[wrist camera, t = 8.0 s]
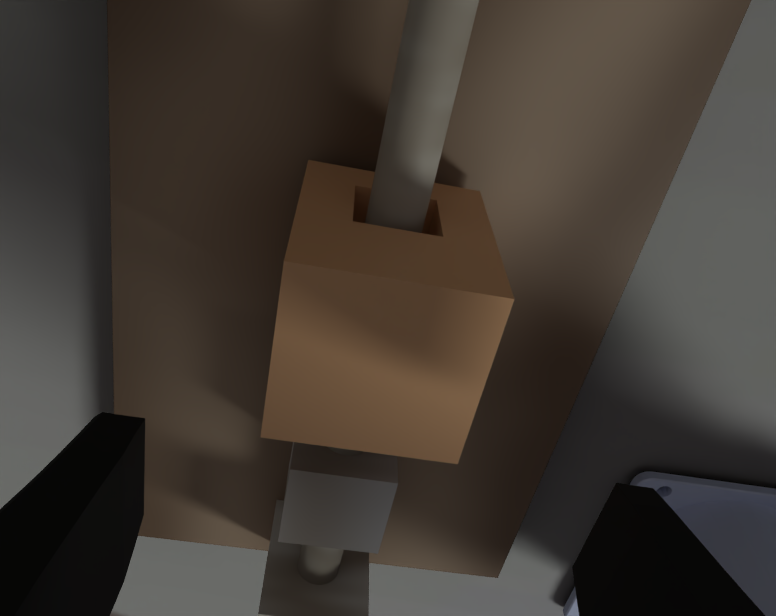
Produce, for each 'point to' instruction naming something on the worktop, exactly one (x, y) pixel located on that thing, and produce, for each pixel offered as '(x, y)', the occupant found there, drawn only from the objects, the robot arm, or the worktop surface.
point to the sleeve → (384, 322)
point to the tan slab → (388, 209)
